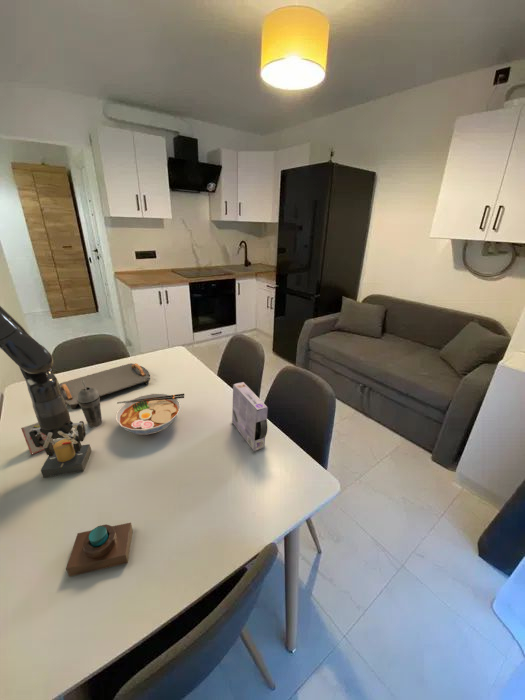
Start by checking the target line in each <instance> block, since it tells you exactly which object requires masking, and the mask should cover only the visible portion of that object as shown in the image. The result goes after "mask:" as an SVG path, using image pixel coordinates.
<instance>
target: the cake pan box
mask: <svg viewBox="0 0 525 700" xmlns="http://www.w3.org/2000/svg"><path fill="white" fill-rule="evenodd" d="M231 408H232V411H231V412H232V413H231V423H232V424H233V425H234V427H235V428H236V430H238V432H239V435H241V437H242V438H243V440H244V441H246V443H247V444H248V445H249V447H250V448H251V450H253V452H256V451H259V450H261V449H263V448H265V447H266V446H265V445H266V436H267V434H268V420H267V419H268V412H269V411H268V410H269V407H268V406H267V405H266V404H265V403H264V401H262V399H260V398H259V396H258V395H256V393H255V392H254V391H253V390H252V389H251V388H250V387H249V386H248V385H247V384H246V383H245V382H244V381H242V382H237V383H234V384H232V407H231Z"/></svg>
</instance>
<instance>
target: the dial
mask: <svg viewBox="0 0 525 700" xmlns="http://www.w3.org/2000/svg"><path fill="white" fill-rule="evenodd" d="M54 443H55V444H54V446H53V448H54V451H55V454H56V457H57V460H58V461H59V462H65V461H68V460H70V459H72V458H73V457H74V456H75V451H74V447H73V443H72V442H71V441H70V440H69V441H68V440H67V439H65V438H62V439H60V440H58V441H57V442H54Z"/></svg>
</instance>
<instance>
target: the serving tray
mask: <svg viewBox="0 0 525 700" xmlns="http://www.w3.org/2000/svg"><path fill="white" fill-rule="evenodd" d="M82 379H83V381H84V384H85V387H86V388H87V387H91V388H94V389H96V390H97V391H98V393H99V395H100V398H101V397H103V396H106V395H110V394H113V393H117V392H118V391H119V392H120V391H122V390H125V389H129V388H131V387H133V386H137V385H140V384H142V383H143V384H145V385H148V384H149V382H150V380H151V374H150V372H149V369H146V367H144V366H142V365H140V364H139V363H126V364H122V365H119V366H116V367H112V368H109V369H105V370H101V371H98V372H94V373H91V374H87V375H84V376H80V377H77V378H74V379H70V380H67V381H63V382H59V386H60V389H61V392H62V395H63V397H64V399H65V402H66V406H69V407H70V408H71V409H72V410H74V409H76V408H77V405H79V403H78V401H77V400H78V399H77V397H78V394H79V392H80V391H81V390H82V389H84V386H83V383H82Z"/></svg>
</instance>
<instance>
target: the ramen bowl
mask: <svg viewBox="0 0 525 700" xmlns="http://www.w3.org/2000/svg"><path fill="white" fill-rule="evenodd" d="M179 399H185V393H177V394H167V393H149V394H142V395H139V396H137V397H135V398H131V399H129V400H123V401H121V404H122V405H121V406H120V408H119V409H118V410H117V412H116V413H115V414H116V415H115V421H116V422H117V423H118V424H119V426H120V427H121V428H122V429H123V430H125V431H126V432H130V433H132V434H135V435H145V436H147V435H151V434H152V435H153V434H156V433H159V432H161V431H163V430H165V429H167V428H168V427H169V426H170V425H171V424H172V423H173V422H175V420H176V418H177V417H178V415H179V412H180V410H181V408H182V406H181V403H180V400H179ZM116 404H120V401H118V402H117V403H116Z"/></svg>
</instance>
